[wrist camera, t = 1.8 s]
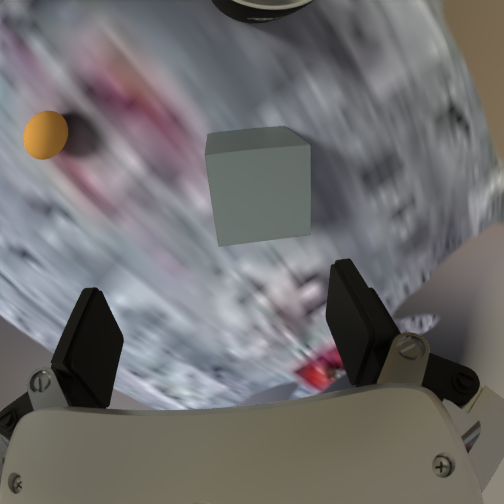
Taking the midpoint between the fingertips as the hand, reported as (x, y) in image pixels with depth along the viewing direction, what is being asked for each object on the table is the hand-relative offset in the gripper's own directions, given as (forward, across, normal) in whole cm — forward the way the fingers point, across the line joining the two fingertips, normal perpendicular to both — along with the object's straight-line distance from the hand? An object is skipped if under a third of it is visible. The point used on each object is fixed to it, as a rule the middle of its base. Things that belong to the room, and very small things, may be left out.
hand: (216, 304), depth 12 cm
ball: (+18, +17, -7) cm, 26 cm away
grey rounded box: (+21, -3, +1) cm, 21 cm away
